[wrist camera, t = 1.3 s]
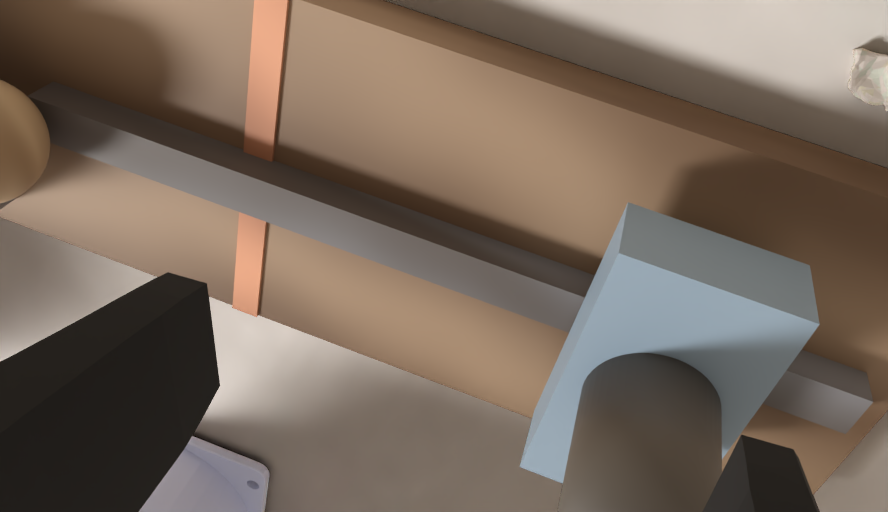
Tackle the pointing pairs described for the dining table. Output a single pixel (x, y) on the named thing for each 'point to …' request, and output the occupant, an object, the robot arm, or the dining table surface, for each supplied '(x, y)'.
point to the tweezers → (869, 77)
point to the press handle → (666, 365)
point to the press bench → (420, 188)
